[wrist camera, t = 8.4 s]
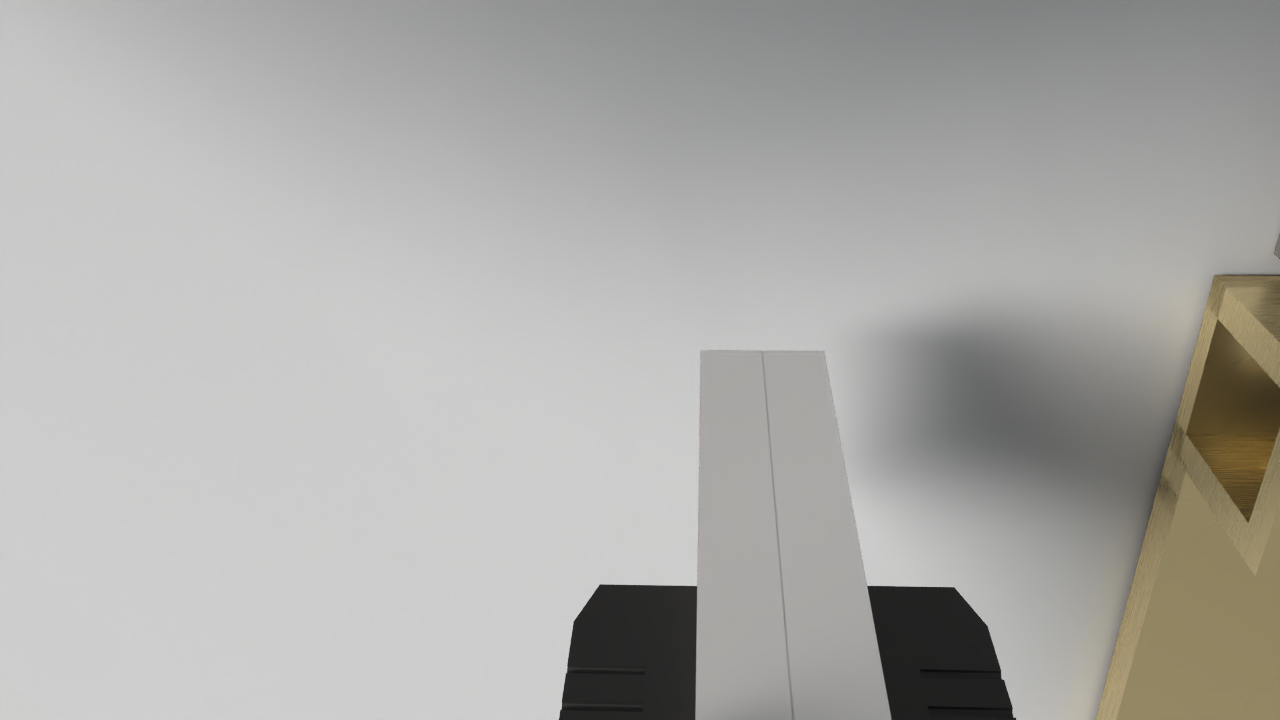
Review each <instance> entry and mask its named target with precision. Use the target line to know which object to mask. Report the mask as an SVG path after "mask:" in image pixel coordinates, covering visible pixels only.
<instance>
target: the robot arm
mask: <svg viewBox="0 0 1280 720" xmlns="http://www.w3.org/2000/svg"><path fill="white" fill-rule="evenodd" d="M1012 709H1013V708H1012V705H1011V701H1010V698H1009V695H1008V692H1007V688H1006V685H1005V682H1004V680H1002V679H1001V669H1000V666H999V662H998V659H997V656H996V653H995V649H994V646H993V643H992V640H991V636H990V633H989V630H988V627H987V625H986V624H985V623H984V622H983V621H982V619H981V618H980V617H979V616H978V615H977V614H976V612H975V611H974V610H973V609H972V608H971V607H970V605H969V604H968V603H967V602H966V601H965V599H964V598H963V597H962V596H961V595H960V594H959V592H958V591H957V590H956V589H955V588H954V587H895V586H867V583H866V577H865V572H864V566H863V561H862V555H861V550H860V544H859V539H858V533H857V528H856V522H855V517H854V511H853V506H852V501H851V495H850V490H849V484H848V479H847V473H846V468H845V462H844V457H843V451H842V446H841V440H840V435H839V429H838V424H837V418H836V413H835V407H834V402H833V396H832V391H831V386H830V380H829V375H828V369H827V364H826V358H825V353H824V351H743V350H701V358H700V429H699V500H698V570H697V586H653V585H599V587H598V588H597V590H596V591H595V592H594V594H593V595H592V597H591V598H590V599H589V601H588V602H587V604H586V605H585V607H584V608H583V609H582V611H581V612H580V614H579V615H578V616H577V618H576V619H575V621H574V625H573V631H572V638H571V645H570V651H569V658H568V669H567V673H566V678H565V684H564V691H563V698H562V710H561V711H560V718H559V720H1016V718H1013V714H1012Z"/></svg>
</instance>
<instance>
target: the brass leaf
mask: <svg viewBox="0 0 1280 720" xmlns="http://www.w3.org/2000/svg"><path fill="white" fill-rule="evenodd" d="M1096 720H1280V276H1240V275H1214V279H1213V283H1212V287H1211V290H1210V294H1209V298H1208V302H1207V305H1206V309H1205V313H1204V317H1203V320H1202V324H1201V328H1200V331H1199V335H1198V339H1197V343H1196V346H1195V350H1194V354H1193V358H1192V361H1191V365H1190V369H1189V373H1188V376H1187V380H1186V384H1185V388H1184V391H1183V395H1182V399H1181V403H1180V406H1179V410H1178V414H1177V417H1176V421H1175V425H1174V429H1173V432H1172V436H1171V440H1170V444H1169V447H1168V451H1167V455H1166V459H1165V462H1164V466H1163V470H1162V474H1161V477H1160V481H1159V485H1158V489H1157V492H1156V496H1155V500H1154V503H1153V507H1152V511H1151V515H1150V518H1149V522H1148V526H1147V530H1146V533H1145V537H1144V541H1143V545H1142V548H1141V552H1140V556H1139V560H1138V563H1137V567H1136V571H1135V575H1134V578H1133V582H1132V586H1131V589H1130V593H1129V597H1128V601H1127V604H1126V608H1125V612H1124V616H1123V619H1122V623H1121V627H1120V631H1119V634H1118V638H1117V642H1116V646H1115V649H1114V653H1113V657H1112V661H1111V664H1110V668H1109V672H1108V675H1107V679H1106V683H1105V687H1104V690H1103V694H1102V698H1101V702H1100V705H1099V709H1098V713H1097V717H1096Z"/></svg>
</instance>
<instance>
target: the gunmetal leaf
mask: <svg viewBox="0 0 1280 720" xmlns="http://www.w3.org/2000/svg"><path fill="white" fill-rule="evenodd" d="M1274 254H1275V255H1276V256H1277V257H1278V258H1279V259H1280V235H1279V238H1278V242H1277V245H1276V248H1275V252H1274Z"/></svg>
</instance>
